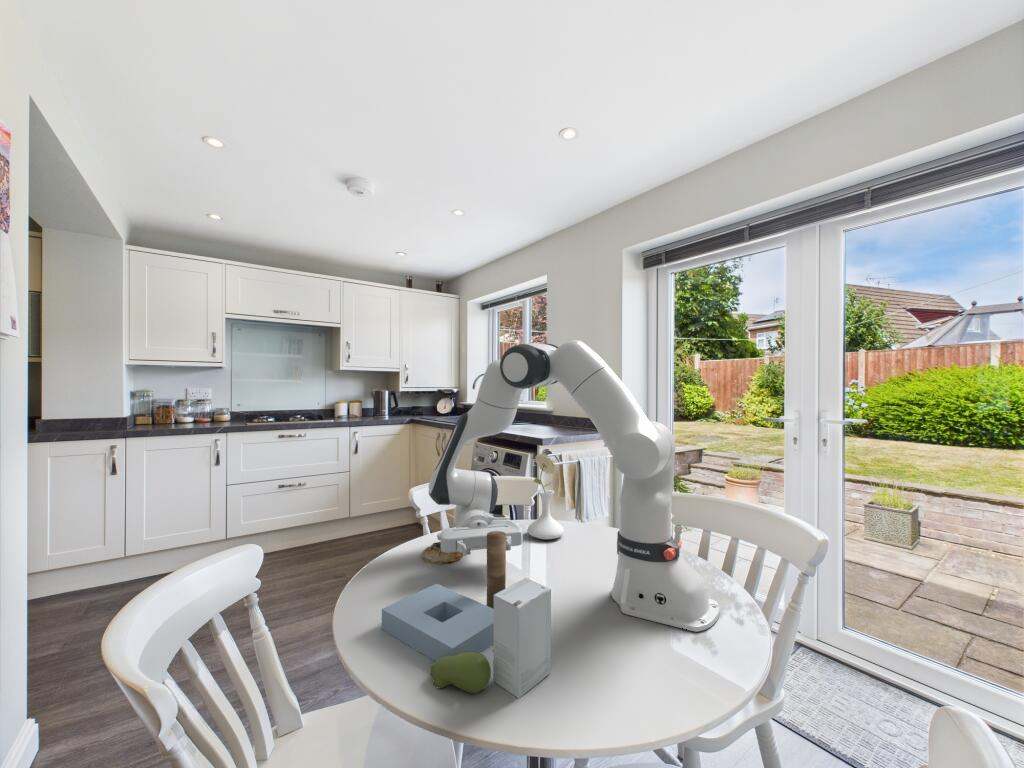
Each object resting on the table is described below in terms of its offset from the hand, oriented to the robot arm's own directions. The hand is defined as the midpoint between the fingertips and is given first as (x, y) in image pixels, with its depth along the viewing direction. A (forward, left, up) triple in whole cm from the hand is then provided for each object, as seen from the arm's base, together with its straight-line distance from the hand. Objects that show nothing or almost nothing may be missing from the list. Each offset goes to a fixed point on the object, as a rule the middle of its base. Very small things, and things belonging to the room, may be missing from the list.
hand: (487, 549), depth 106 cm
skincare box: (-25, +19, -10) cm, 33 cm away
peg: (-7, +5, -9) cm, 13 cm away
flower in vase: (+11, -38, -10) cm, 40 cm away
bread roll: (+22, -7, -10) cm, 25 cm away
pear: (-18, +27, -10) cm, 34 cm away
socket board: (-5, +18, -9) cm, 21 cm away
